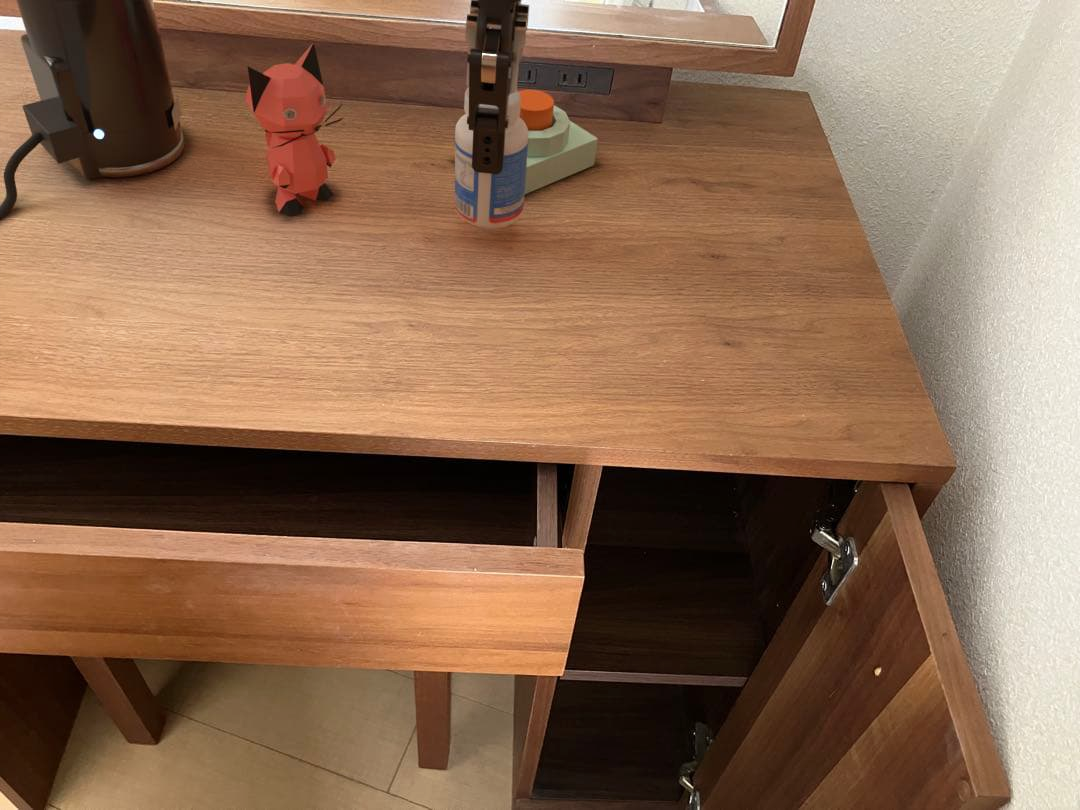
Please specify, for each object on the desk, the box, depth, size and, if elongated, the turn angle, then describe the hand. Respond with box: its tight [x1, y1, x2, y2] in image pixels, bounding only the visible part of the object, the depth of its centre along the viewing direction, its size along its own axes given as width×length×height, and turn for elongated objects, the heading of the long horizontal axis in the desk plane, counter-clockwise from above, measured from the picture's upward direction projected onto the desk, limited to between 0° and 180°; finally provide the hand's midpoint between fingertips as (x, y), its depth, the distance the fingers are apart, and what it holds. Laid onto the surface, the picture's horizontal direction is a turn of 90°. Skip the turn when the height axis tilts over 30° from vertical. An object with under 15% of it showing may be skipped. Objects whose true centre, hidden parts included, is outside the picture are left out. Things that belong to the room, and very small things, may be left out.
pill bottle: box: [454, 86, 528, 229], centre depth 67 cm, size 6×5×10 cm
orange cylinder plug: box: [518, 89, 555, 131], centre depth 76 cm, size 4×4×2 cm
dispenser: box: [524, 104, 599, 195], centre depth 78 cm, size 10×7×4 cm
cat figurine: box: [244, 42, 345, 217], centre depth 69 cm, size 7×7×12 cm
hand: (491, 148), depth 67 cm, fingers closed on pill bottle, 5 cm apart
